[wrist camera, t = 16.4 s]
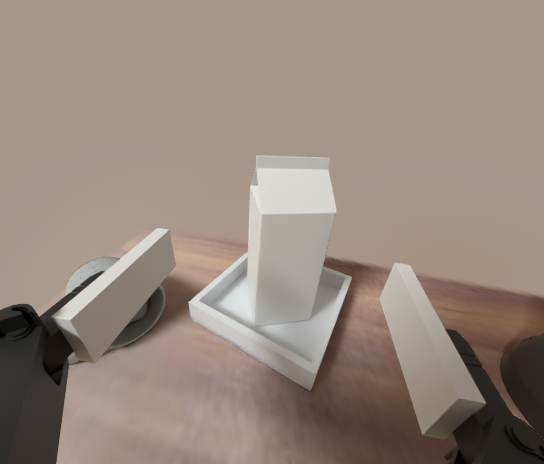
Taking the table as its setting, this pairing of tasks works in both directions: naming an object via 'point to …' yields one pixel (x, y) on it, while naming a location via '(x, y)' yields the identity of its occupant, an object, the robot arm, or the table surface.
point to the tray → (276, 337)
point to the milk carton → (288, 236)
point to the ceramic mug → (141, 319)
